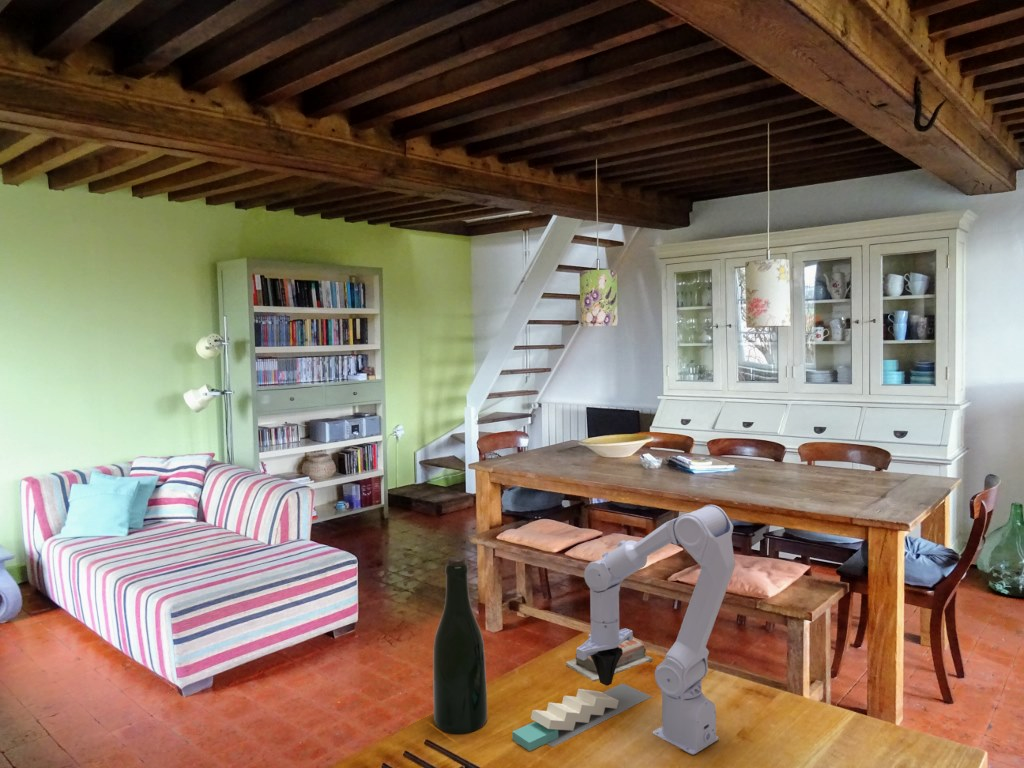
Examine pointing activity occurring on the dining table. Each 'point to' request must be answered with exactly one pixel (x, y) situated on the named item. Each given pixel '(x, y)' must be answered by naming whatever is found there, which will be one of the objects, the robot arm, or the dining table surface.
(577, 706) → the domino
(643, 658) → the packaged product
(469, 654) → the beer bottle
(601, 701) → the domino
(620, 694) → the mat
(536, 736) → the domino
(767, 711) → the dining table surface
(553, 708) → the domino
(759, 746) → the dining table surface
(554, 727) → the domino
